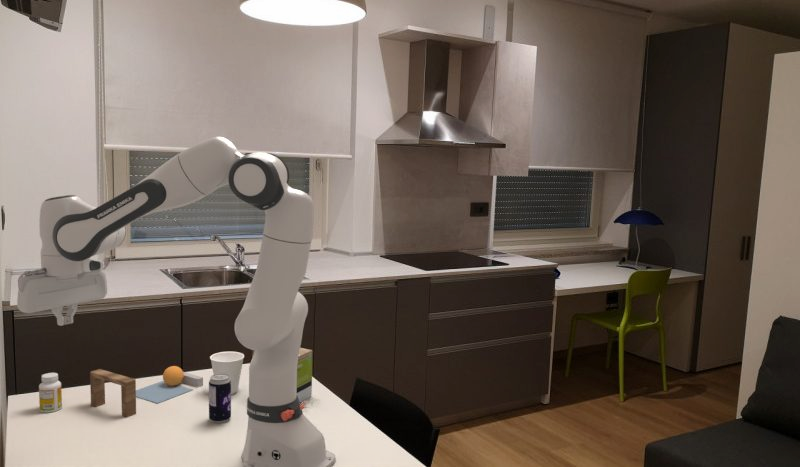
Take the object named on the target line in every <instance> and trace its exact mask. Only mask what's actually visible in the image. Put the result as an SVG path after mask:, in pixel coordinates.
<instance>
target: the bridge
mask: <svg viewBox="0 0 800 467" xmlns="http://www.w3.org/2000/svg"><path fill="white" fill-rule="evenodd" d="M89 379H90V380H89V381H90V382H89V384H90V386H89V388H90V406H91V407H94V408H97V407H99V406H102V405H105V404H106V385H105V382H109V383H112V384H114V385H118V386H120V387H121V388H120V391H121V392H120V394H121V395H120V396H121V416H122V417H124V418H129V417H132V416H134V415H136V414H137V397H136V390H137V389H136V388H137V386H136V385H137V384H136V383H137V382H136V379H135V378H133V377H129V376H126V375H123V374H118V373H115V372H111V371H109V370H105V369H102V368H98V369H95V370H91V371H90V372H89Z"/></svg>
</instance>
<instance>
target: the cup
mask: <svg viewBox="0 0 800 467" xmlns="http://www.w3.org/2000/svg"><path fill="white" fill-rule="evenodd" d="M244 358H245V354H244V353H243V352H238V351H220V352H216V353H213V354H212V355H210V356H209V359H210V361H211V363H210V364H211V368H212V373H213V374H212V375H215V374H227V375H229V378H230V380H231V396H232V395H234V394H236V393H237V392H238V390H239V386H240V379H241V374H242V369H243V368H242V367H243V362H244Z"/></svg>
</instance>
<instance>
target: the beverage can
mask: <svg viewBox="0 0 800 467" xmlns="http://www.w3.org/2000/svg"><path fill="white" fill-rule="evenodd" d="M209 378H210V379H209V380H208V418H209V420H210V421H211V422H212V423H214V424H222V423H223V424H224V423H226V422H228V421H229V419H231V417H232V395H231V380H230V378H229V375H227V374H215V375H214V374H212V375H211V376H210V377H209Z"/></svg>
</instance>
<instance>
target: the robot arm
mask: <svg viewBox="0 0 800 467" xmlns="http://www.w3.org/2000/svg"><path fill="white" fill-rule="evenodd" d="M289 181H290V171H289V168H288V166H287V164H286V163H285V161H284V160H283V159H282V158H281V157H280V156H278V155H277V154H275V153H274V154H273V153H270V152H263V151H257V152H256V151H255V152H245V153H244V154H242V153H241V152H240V151H239V150H238V149H237V147H236V146H235V144H233V142H232V141H231V140H229V139H227V138H225V137H223V136H213V137H211V138H208V139H205V140H202V141H200V142H197V143H196V144H194V145H192V146H190V147H188V148H186V149H184V150H182V151H181V152H179V153H177V154H176V155H175V156H172V158H170V159H169V160H167V161H166V162H164V163H163V164H161V165H160V166H159V167H158V168H156V169H155V170H154V171H152V172H151V173H150V174H149V175H147V176H145V178H143V179H142V180H140V181H139V182H137V183H136V184H135V185H134V186H132V187H131V188H129V189H127V190H126V191H123V193H120V194H118V195H116V196H115V197H113V198H112V199H110V200H108V201H107V202H104V203H103V204H101V205H99V206H93V205H91V204H89V203H88V202H85V201H84V200H82V198H80V196H77V195H75V194H68V195H60V196H59V195H58V196H53V197H50V198H46V199H45V200H44V201H43V202H42V203H41V205H40V210H39V219H38V220H39V237H40V240H41V248H40V265H41V266H40V268H39V269H38V268H37V269H34V270H25V271H24V272H23V273H21V274H20V275H19V276H18V278H17V286H18V287H17V288H18V291H17V300H16V302H17V303H16V305H17V309H18V310H19V311H20V312H22V313H24V314H33V313H37V312H43V311H47V310H51V313H53V315H54V317H55V318H56V323H57V324H56V325H58V326H60V327H62V326H66V325H70V324H73V323H74V316H75V314H76V313H77V311H78V309H79V308H78V304H82V303H88V302H93V301H96V300H98V301H99V300H103V299H105V298H106V296H107V294H108V282H107V281H108V280H107V275H106V273H105V272H104V268H105V262H104V261H103V260H99V259H94V258H91V257H93V256H94V257H95V256H97V255H100V254H103V253H107V252H110V251H112V250H114V249H116V248H118V247H120V246H121V244H122V243H123V242H124V241H125V239H126V233H127V228H126V227H127V226H128V225H130V224H132V223H134V222H135V221H137V220H139V219H141V218H143V217H145V216H148V215H151V214H155V213H159V212H164V211H169V210H174V209H179V208H182V207H184V206H188V205H191V204H193V203H195V202H197V201H200V200H202V199H204V198H205V197H206V196H209V195H210V194H212V193H213V192H215V191H216V190H218V189H220V188H222V187H225V186H229V188H230V190H231V191H232V193H233V194H234V195H235V196H236V197H237V198H238V199H239V200H241V201H243V202H244V203H247V204H249V205H251V206H252V207H255V208H256V209H259V210H260V211H264V214H265V220H264V226H263V233H262V238H261V244H260V249H259V255H258V259H257V260H258V261H257V266H256V269H255V272H254V276H253V277H252V281H251V284H250V286H249V289H248V292H247V294H246V296H245V297H246V298H245V301H244V303H243V306H242V308H241V310H240V311H239V313H238V315H237V317H236V319H235V321H234V333H235V337H236V338H237V340H238V342H239V343H240V344H241V345H242V346H243V347H245V348H246V349H249V350H251V351H253V350H255V351H254V355H253V358H252V359H251V361H250V363H249V366H248V397H247V400H246V414H247V416H248V418H247V419H248V420H247V421H248V422H247V429H246V435H245V442H244V446H243V449H242V453H241V458H242V463H243V464H242V467H332V466H333V465H334V464H335V462H336V454H335V453H333V452H332V451H330V450H327V449H326V441H325V438H324V435H323V432H321V430H319V429H318V427H316V426H315V425H314V424H313V422H311V420H309V418H307V417H306V416H305V414H304V411H303V409H305V408H306V407H307V406H306V404H307V403H306V402H303V403H302V404H301V403H300V401H299V398H298V396H297V395H296V393H297V363H298V356H299V351H300V348H301V345H302V340H303V332H304V327H305V322H306V318H307V316H308V313H309V304H308V301H307V299H306V297H305V296H304V295H303V294H302V293H301V292H299V289H300V287H301V284H302V282H303V280H304V279H305V276H306V274H307V268H308V263H309V262H308V261H309V257H310V251H311V247H312V246H311V244H312V241H313V240H312V239H313V232H314V222H315V221H314V220H315V207H314V205H315V204H314V200H313V199H312V197H311V196H310V195H309V194H308V193H306V192H305V191H302V190H299V189H296V188H292V187H291V186H290V185H289ZM64 307H66V309H67V311H66V314H65V315H63V313H62V312H63V311H64Z"/></svg>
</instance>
